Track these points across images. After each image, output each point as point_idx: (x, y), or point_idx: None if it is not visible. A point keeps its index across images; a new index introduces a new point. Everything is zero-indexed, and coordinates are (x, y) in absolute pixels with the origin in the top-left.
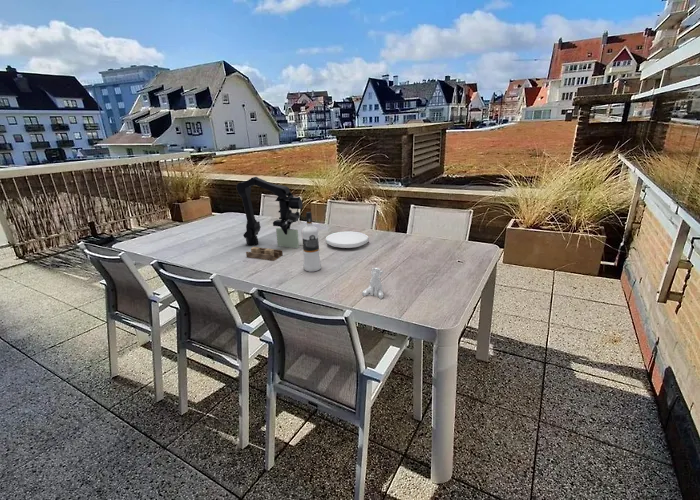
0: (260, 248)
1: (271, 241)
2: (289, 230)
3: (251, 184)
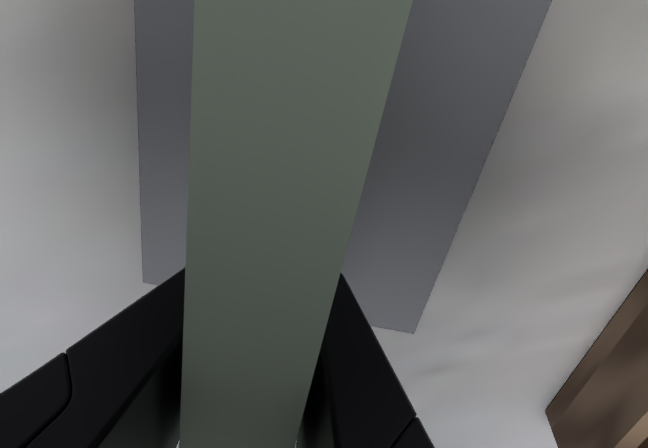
0: (637, 440)
1: None
2: (336, 274)
3: None
